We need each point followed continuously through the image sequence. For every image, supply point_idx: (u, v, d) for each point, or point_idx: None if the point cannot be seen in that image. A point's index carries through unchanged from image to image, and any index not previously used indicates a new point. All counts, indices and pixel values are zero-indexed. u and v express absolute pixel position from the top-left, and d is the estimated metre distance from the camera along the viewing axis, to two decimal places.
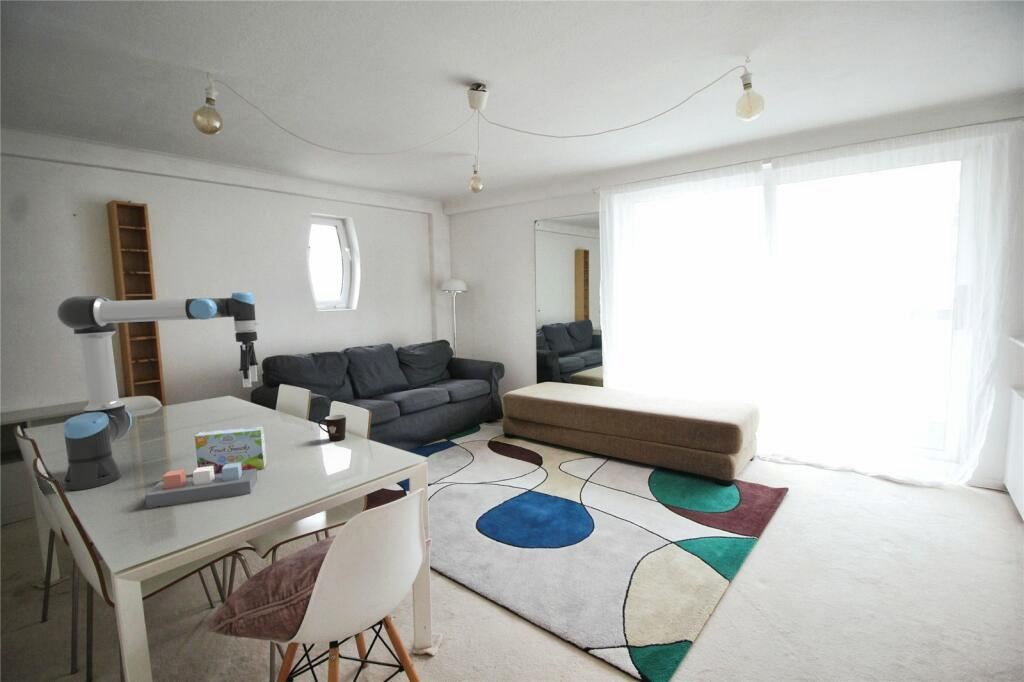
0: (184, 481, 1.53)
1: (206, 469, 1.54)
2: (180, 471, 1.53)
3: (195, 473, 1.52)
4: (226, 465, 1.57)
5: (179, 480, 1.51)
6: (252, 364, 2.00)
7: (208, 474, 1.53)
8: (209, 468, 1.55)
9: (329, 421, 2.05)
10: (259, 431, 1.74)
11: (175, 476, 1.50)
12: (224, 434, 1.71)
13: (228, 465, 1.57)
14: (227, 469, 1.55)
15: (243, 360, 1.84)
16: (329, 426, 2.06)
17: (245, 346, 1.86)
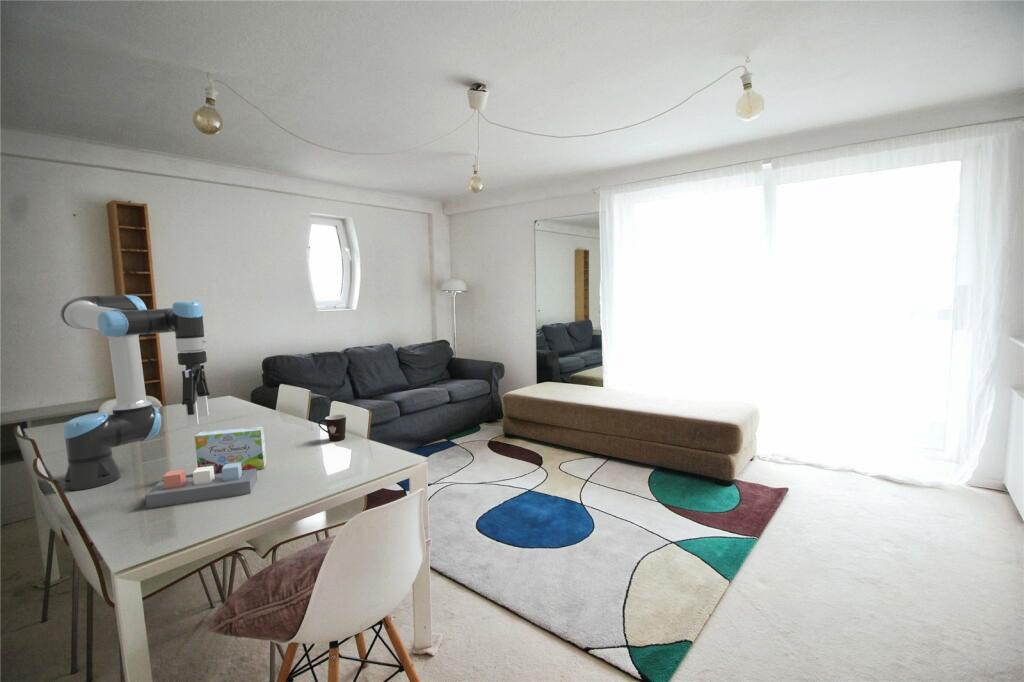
0: (184, 481, 1.53)
1: (206, 469, 1.54)
2: (180, 471, 1.53)
3: (195, 473, 1.52)
4: (226, 465, 1.57)
5: (179, 480, 1.51)
6: (202, 394, 1.58)
7: (208, 474, 1.53)
8: (209, 468, 1.55)
9: (329, 421, 2.05)
10: (259, 431, 1.74)
11: (175, 476, 1.50)
12: (224, 434, 1.71)
13: (228, 465, 1.57)
14: (227, 469, 1.55)
15: (186, 391, 1.44)
16: (329, 426, 2.06)
17: (189, 373, 1.45)
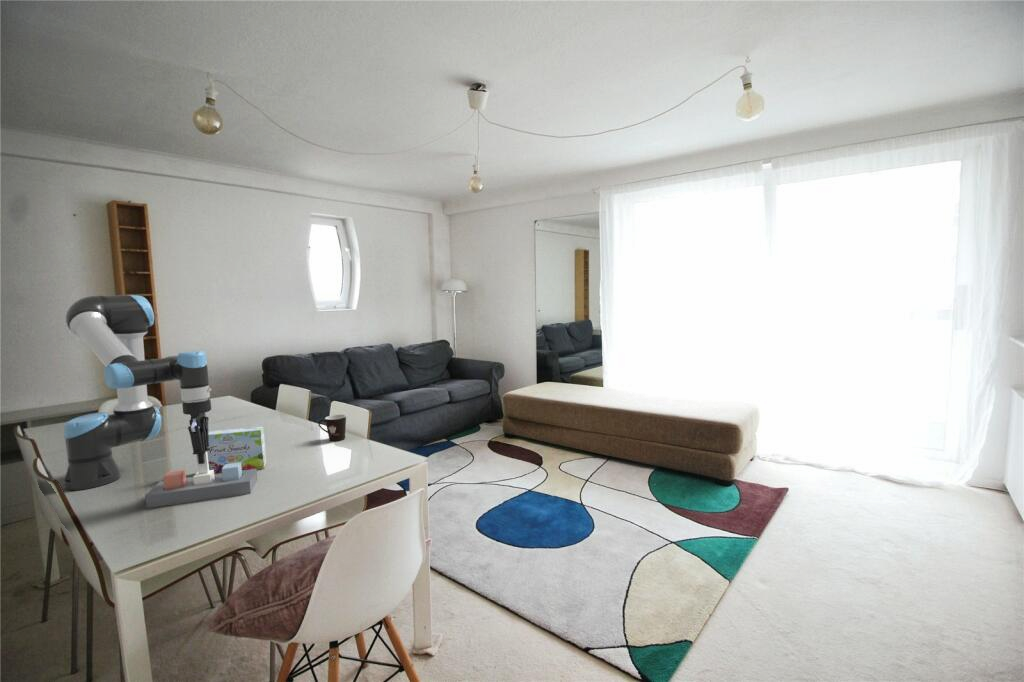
0: (184, 481, 1.53)
1: (206, 473, 1.54)
2: (180, 471, 1.53)
3: (195, 477, 1.52)
4: (226, 465, 1.57)
5: (179, 480, 1.51)
6: None
7: (208, 478, 1.53)
8: (209, 472, 1.55)
9: (329, 421, 2.05)
10: (259, 431, 1.74)
11: (175, 476, 1.50)
12: (224, 434, 1.71)
13: (228, 465, 1.57)
14: (227, 469, 1.55)
15: (195, 444, 1.49)
16: (329, 426, 2.06)
17: (195, 429, 1.47)
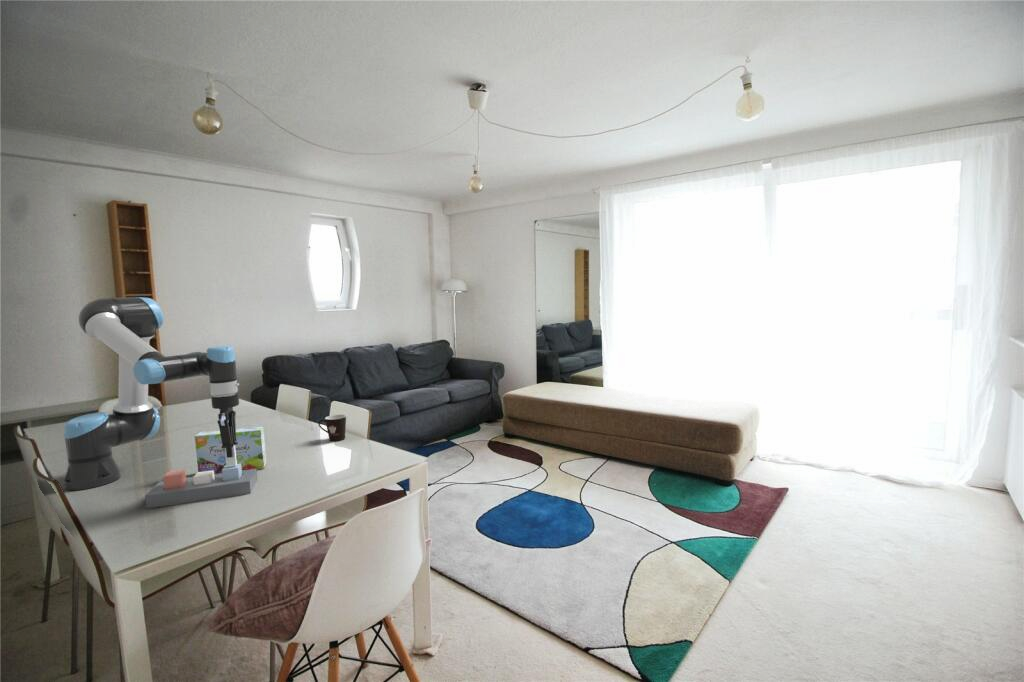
0: (184, 481, 1.53)
1: (206, 474, 1.54)
2: (180, 471, 1.53)
3: (195, 478, 1.52)
4: None
5: (179, 480, 1.51)
6: None
7: (208, 479, 1.53)
8: (209, 472, 1.55)
9: (329, 421, 2.05)
10: (259, 431, 1.74)
11: (175, 476, 1.50)
12: None
13: None
14: (227, 470, 1.55)
15: (224, 438, 1.52)
16: (329, 426, 2.06)
17: (224, 423, 1.50)
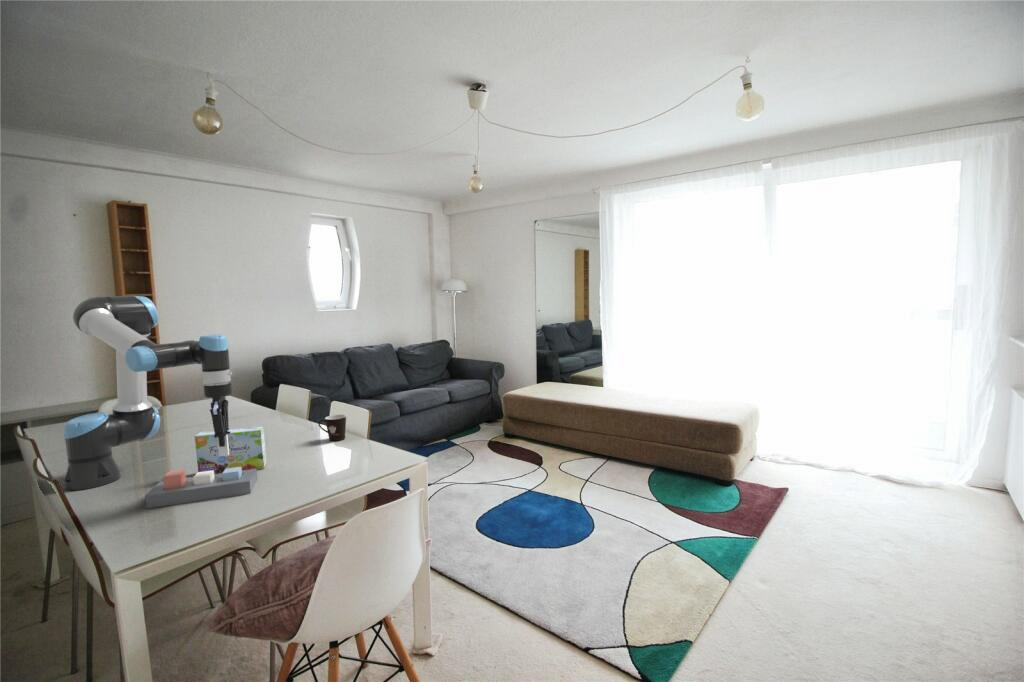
0: (184, 481, 1.53)
1: (206, 474, 1.54)
2: (180, 471, 1.53)
3: (195, 478, 1.52)
4: (226, 469, 1.57)
5: (179, 480, 1.51)
6: None
7: (208, 479, 1.53)
8: (209, 472, 1.55)
9: (329, 421, 2.05)
10: (259, 431, 1.74)
11: (175, 476, 1.50)
12: None
13: (228, 469, 1.57)
14: (227, 473, 1.55)
15: (217, 427, 1.51)
16: (329, 426, 2.06)
17: (217, 411, 1.49)
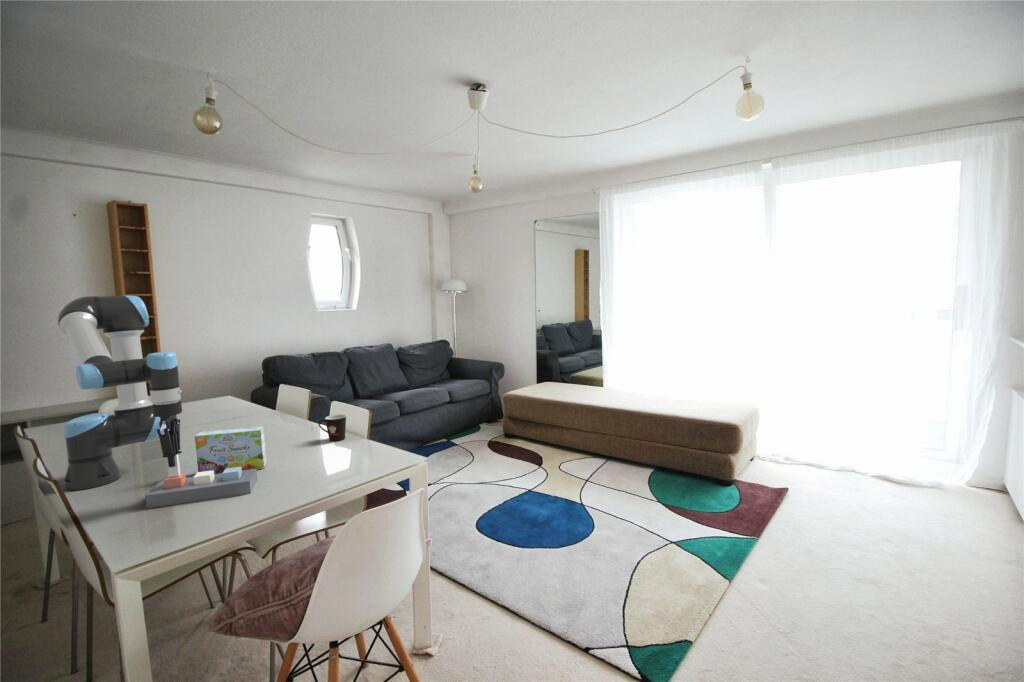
0: (184, 484, 1.54)
1: (206, 474, 1.54)
2: (180, 474, 1.53)
3: (195, 478, 1.52)
4: (226, 469, 1.57)
5: (179, 484, 1.51)
6: None
7: (208, 479, 1.53)
8: (209, 472, 1.55)
9: (329, 421, 2.05)
10: (259, 431, 1.74)
11: (176, 479, 1.50)
12: (224, 434, 1.71)
13: (228, 469, 1.57)
14: (227, 473, 1.55)
15: (165, 447, 1.47)
16: (329, 426, 2.06)
17: (164, 431, 1.45)
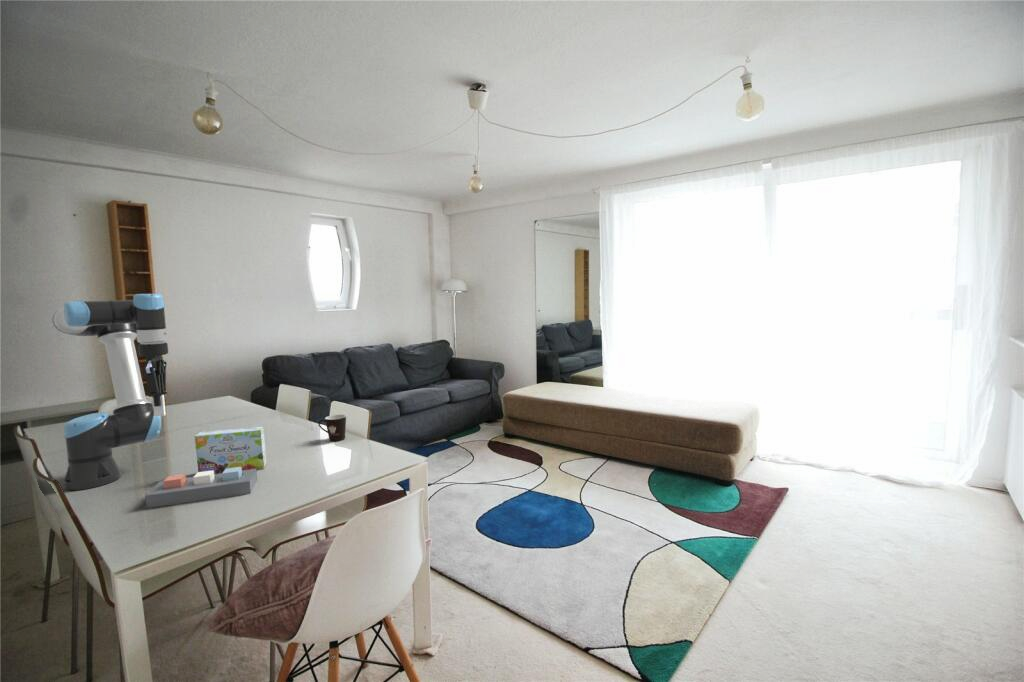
0: None
1: (206, 474, 1.54)
2: (180, 476, 1.53)
3: (195, 478, 1.52)
4: (226, 469, 1.57)
5: (179, 485, 1.51)
6: None
7: (208, 479, 1.53)
8: (209, 472, 1.55)
9: (329, 421, 2.05)
10: (259, 431, 1.74)
11: (176, 480, 1.50)
12: (224, 434, 1.71)
13: (228, 469, 1.57)
14: (227, 473, 1.55)
15: (151, 386, 1.50)
16: (329, 426, 2.06)
17: (150, 370, 1.48)
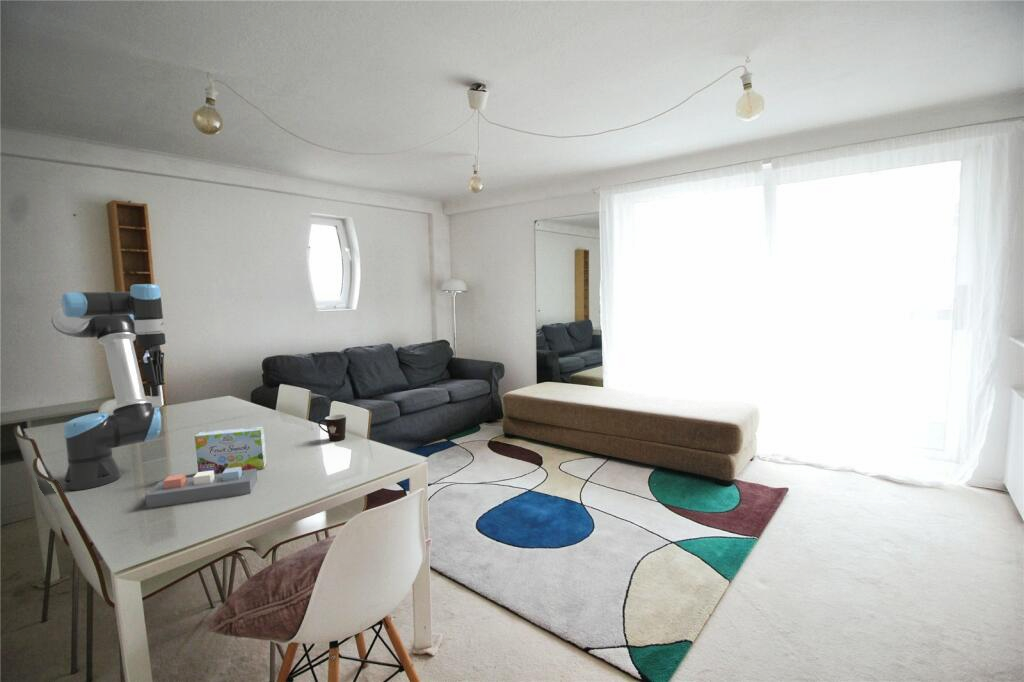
0: None
1: (206, 474, 1.54)
2: (180, 476, 1.53)
3: (195, 478, 1.52)
4: (226, 469, 1.57)
5: (179, 485, 1.51)
6: None
7: (208, 479, 1.53)
8: (209, 472, 1.55)
9: (329, 421, 2.05)
10: (259, 431, 1.74)
11: (176, 480, 1.50)
12: (224, 434, 1.71)
13: (228, 469, 1.57)
14: (227, 473, 1.55)
15: (148, 375, 1.51)
16: (329, 426, 2.06)
17: (147, 359, 1.49)
